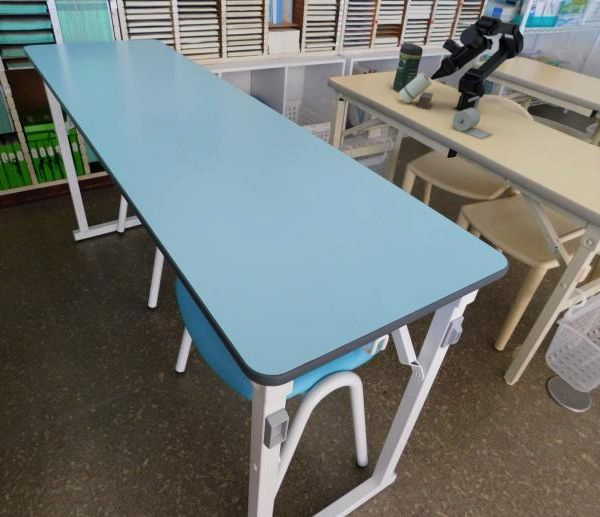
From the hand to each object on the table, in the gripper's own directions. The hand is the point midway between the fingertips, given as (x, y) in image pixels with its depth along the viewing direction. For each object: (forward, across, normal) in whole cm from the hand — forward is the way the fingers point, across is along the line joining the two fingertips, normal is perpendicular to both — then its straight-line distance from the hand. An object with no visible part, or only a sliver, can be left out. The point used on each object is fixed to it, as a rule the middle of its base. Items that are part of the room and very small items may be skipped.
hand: (434, 77), depth 173 cm
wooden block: (+8, 0, +7) cm, 11 cm away
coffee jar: (+18, -15, -4) cm, 24 cm away
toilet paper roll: (-6, +17, +24) cm, 30 cm away
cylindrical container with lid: (+11, 0, +3) cm, 12 cm away
